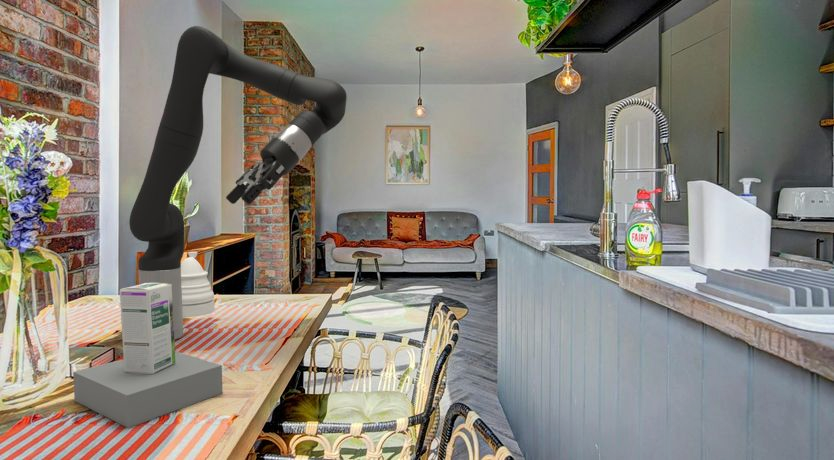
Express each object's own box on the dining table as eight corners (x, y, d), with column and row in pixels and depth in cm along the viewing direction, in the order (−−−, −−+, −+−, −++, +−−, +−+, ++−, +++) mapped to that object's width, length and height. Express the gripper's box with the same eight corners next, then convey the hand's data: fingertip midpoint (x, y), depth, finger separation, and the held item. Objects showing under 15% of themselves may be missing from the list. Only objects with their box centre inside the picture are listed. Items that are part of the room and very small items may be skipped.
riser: (74, 400, 84) (73, 371, 84) (166, 373, 98) (165, 348, 97) (128, 428, 74) (126, 395, 74) (222, 393, 88) (221, 365, 87)
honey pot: (181, 307, 157) (179, 250, 155) (221, 307, 156) (220, 250, 155) (159, 317, 144) (156, 255, 143) (202, 317, 143) (200, 255, 142)
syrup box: (152, 375, 82) (149, 288, 82) (122, 372, 84) (118, 287, 83) (176, 363, 88) (173, 282, 87) (147, 361, 89) (144, 281, 88)
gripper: (261, 139, 114) (211, 189, 108) (290, 133, 104) (237, 187, 97) (283, 163, 118) (236, 212, 111) (313, 160, 107) (263, 214, 101)
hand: (236, 201), depth 104 cm, fingers open, 8 cm apart
